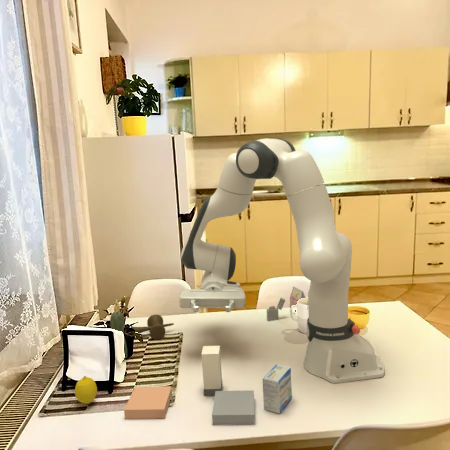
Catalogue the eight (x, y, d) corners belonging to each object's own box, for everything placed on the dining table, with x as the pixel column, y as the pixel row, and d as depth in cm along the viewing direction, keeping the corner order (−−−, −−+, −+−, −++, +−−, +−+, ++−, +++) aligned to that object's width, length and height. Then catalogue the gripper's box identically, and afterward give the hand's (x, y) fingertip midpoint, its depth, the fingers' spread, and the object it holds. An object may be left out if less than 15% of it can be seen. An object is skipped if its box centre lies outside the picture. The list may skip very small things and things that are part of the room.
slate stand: (254, 399, 108) (253, 390, 107) (254, 424, 98) (254, 414, 98) (215, 399, 108) (215, 390, 108) (212, 424, 99) (212, 415, 98)
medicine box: (279, 414, 101) (278, 382, 99) (263, 409, 103) (261, 377, 102) (292, 397, 108) (291, 367, 106) (276, 393, 110) (275, 363, 108)
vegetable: (124, 363, 130) (118, 303, 126) (111, 363, 130) (105, 302, 127) (130, 356, 134) (124, 298, 130) (118, 356, 135) (111, 297, 131)
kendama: (118, 335, 152) (172, 325, 156) (118, 348, 142) (176, 337, 147) (116, 320, 150) (171, 311, 155) (116, 332, 141) (175, 321, 146)
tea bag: (298, 309, 165) (297, 285, 164) (307, 315, 159) (307, 290, 157) (290, 311, 164) (289, 287, 162) (299, 317, 158) (298, 292, 156)
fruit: (74, 402, 111) (71, 374, 109) (96, 395, 113) (92, 368, 112) (78, 412, 106) (75, 384, 105) (100, 405, 109) (97, 377, 107)
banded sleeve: (222, 386, 115) (220, 345, 112) (221, 395, 110) (219, 354, 108) (205, 386, 115) (203, 345, 113) (203, 396, 110) (201, 354, 108)
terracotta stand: (172, 394, 112) (171, 386, 111) (164, 418, 102) (164, 409, 101) (135, 395, 112) (135, 386, 112) (124, 418, 103) (124, 409, 102)
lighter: (268, 321, 156) (267, 301, 154) (266, 319, 157) (266, 299, 156) (286, 318, 157) (285, 298, 156) (284, 316, 159) (283, 297, 158)
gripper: (181, 282, 133) (176, 299, 120) (244, 282, 133) (246, 299, 120) (181, 300, 135) (176, 319, 121) (244, 301, 135) (246, 319, 121)
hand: (212, 309), depth 121 cm, fingers open, 8 cm apart
